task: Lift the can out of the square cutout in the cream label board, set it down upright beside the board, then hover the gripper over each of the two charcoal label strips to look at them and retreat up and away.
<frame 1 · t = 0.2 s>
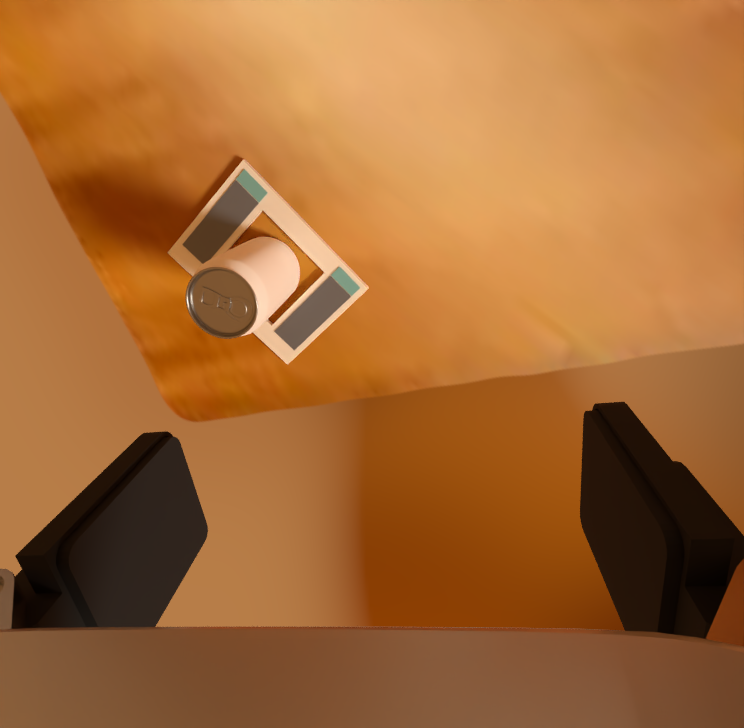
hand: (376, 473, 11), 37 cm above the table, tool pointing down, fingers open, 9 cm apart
can: (269, 268, 48), resting in label board
label board: (268, 269, 47), on the table
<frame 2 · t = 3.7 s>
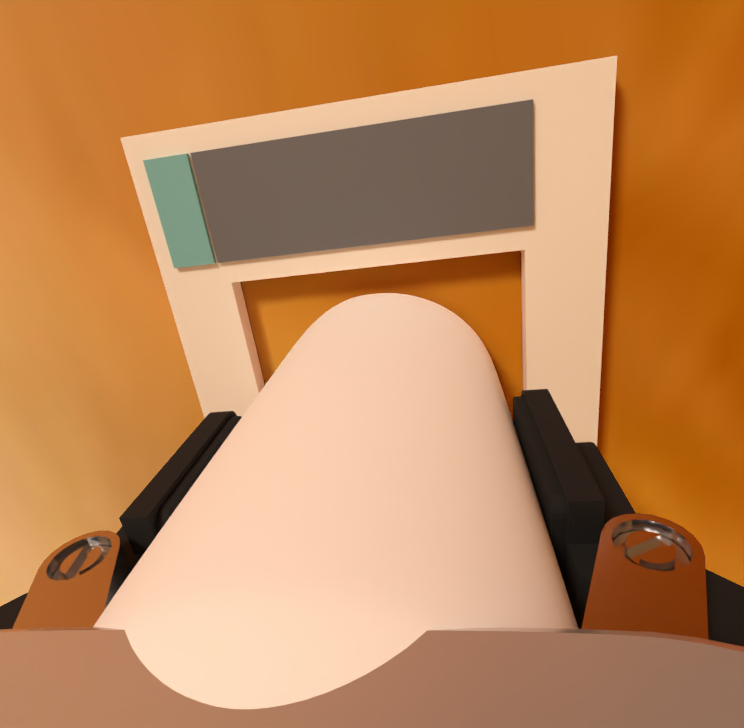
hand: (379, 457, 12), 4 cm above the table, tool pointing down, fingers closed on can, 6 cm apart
can: (391, 387, 15), resting in label board, touching gripper
label board: (390, 390, 15), on the table
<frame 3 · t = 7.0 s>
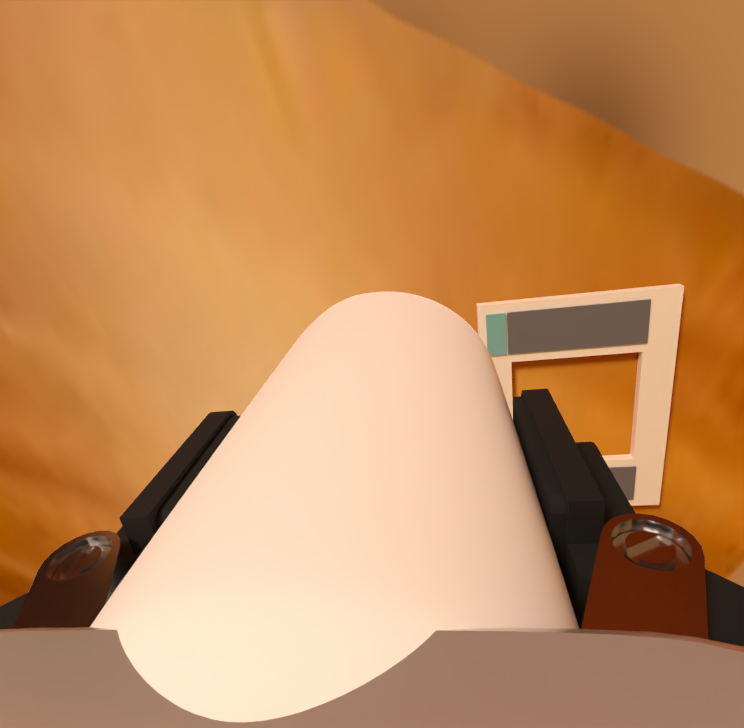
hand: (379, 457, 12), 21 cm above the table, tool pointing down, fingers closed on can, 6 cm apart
can: (391, 385, 15), point 17 cm above the table, touching gripper
label board: (571, 407, 33), on the table
when the fingers open (5 cm above the table, at t = 10.6 s): can drops 1 cm, on the table.
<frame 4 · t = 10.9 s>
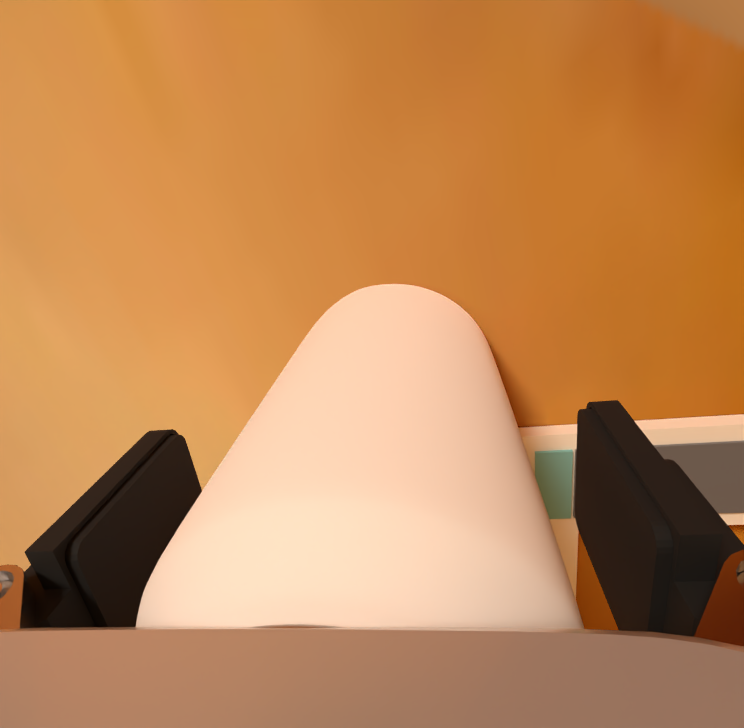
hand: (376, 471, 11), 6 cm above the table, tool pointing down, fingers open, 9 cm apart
can: (396, 371, 17), on the table
label board: (678, 596, 19), on the table
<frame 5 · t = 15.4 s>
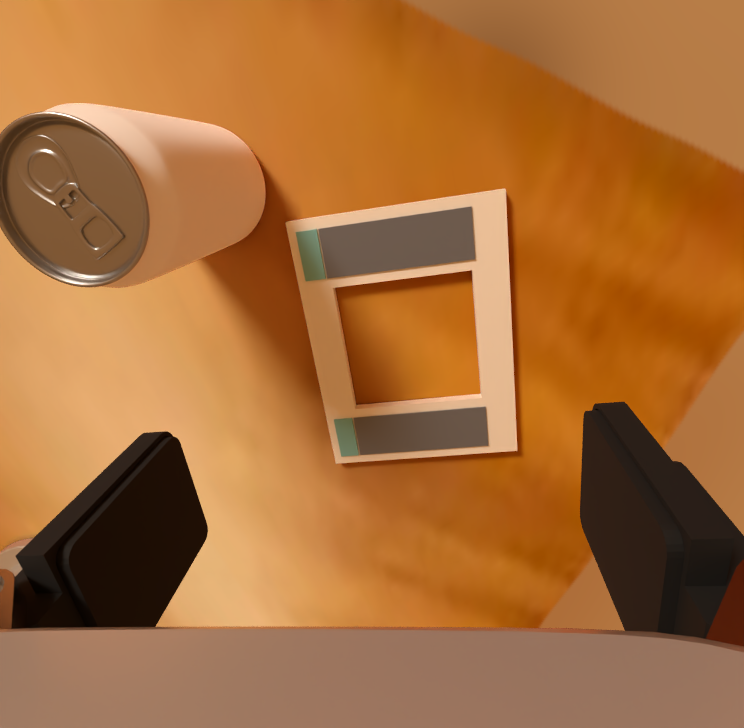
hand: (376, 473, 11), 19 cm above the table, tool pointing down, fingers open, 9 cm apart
can: (213, 187, 27), on the table
label board: (409, 341, 29), on the table
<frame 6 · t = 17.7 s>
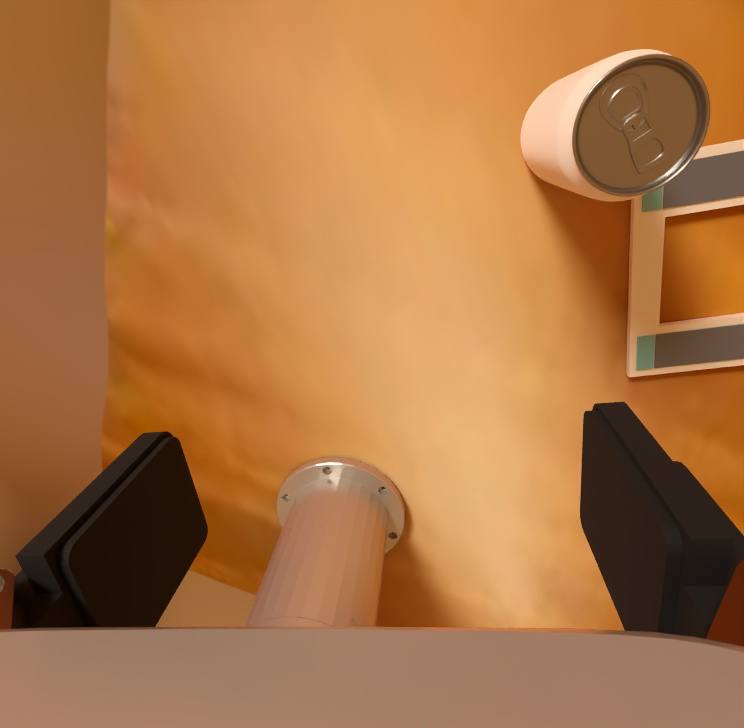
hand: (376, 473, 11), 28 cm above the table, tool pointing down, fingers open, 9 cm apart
can: (568, 132, 32), on the table
label board: (719, 263, 34), on the table
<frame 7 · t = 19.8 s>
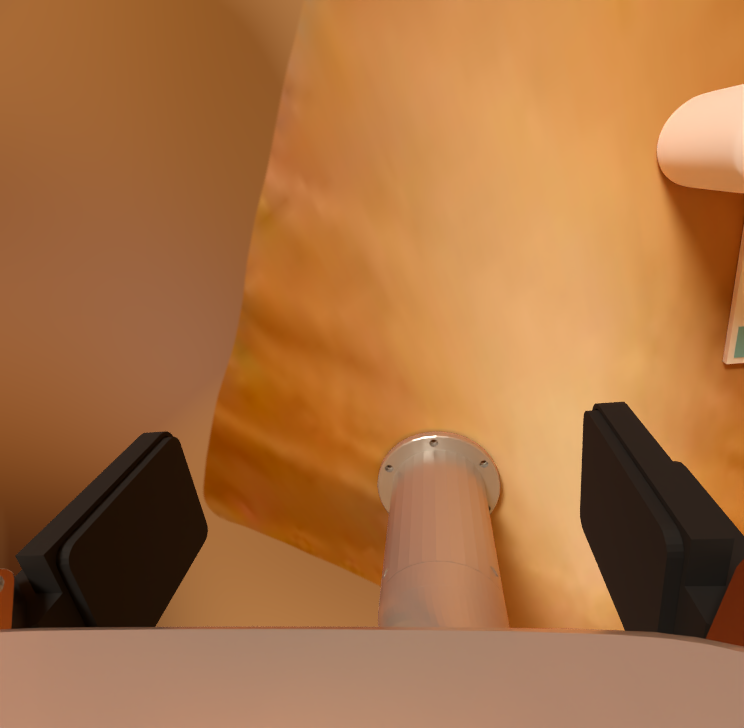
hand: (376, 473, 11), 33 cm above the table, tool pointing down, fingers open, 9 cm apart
can: (698, 141, 37), on the table
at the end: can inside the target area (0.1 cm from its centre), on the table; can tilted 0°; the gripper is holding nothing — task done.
